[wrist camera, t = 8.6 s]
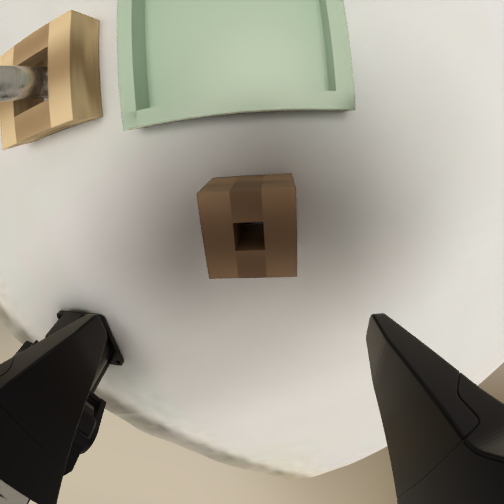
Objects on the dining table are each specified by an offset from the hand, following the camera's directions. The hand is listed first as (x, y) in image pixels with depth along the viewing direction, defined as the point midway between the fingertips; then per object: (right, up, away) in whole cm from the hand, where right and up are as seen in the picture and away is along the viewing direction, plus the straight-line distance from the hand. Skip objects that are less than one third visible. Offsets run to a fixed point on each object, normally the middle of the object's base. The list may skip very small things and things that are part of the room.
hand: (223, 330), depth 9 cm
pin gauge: (-14, +15, +7) cm, 22 cm away
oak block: (-14, +15, +7) cm, 22 cm away
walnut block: (+1, +5, +10) cm, 11 cm away
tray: (0, +17, +5) cm, 17 cm away
